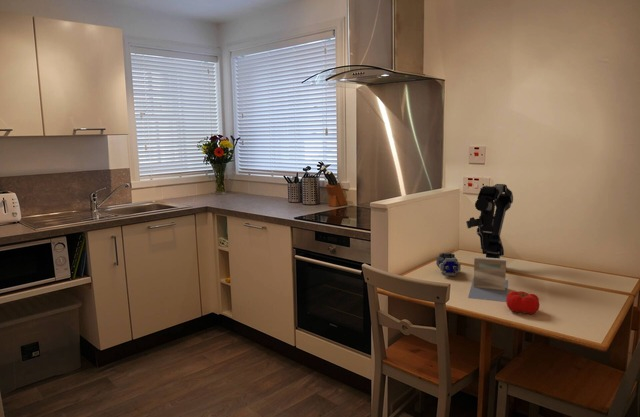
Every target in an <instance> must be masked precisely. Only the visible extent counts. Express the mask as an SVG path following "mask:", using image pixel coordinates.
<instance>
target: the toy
mask: <svg viewBox="0 0 640 417" xmlns="http://www.w3.org/2000/svg"><path fill="white" fill-rule="evenodd" d="M435 262H436V266H437V268H439V269H440V272H442V274H444V275H445V276H447V277H449V276H454V277H456V274H458V273H459V272H460V271H461V266H462V265H461V263H460V262H459V259H457V258H456V257H455V253H452V252H441V253H439V255H438V257H436V261H435Z"/></svg>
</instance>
